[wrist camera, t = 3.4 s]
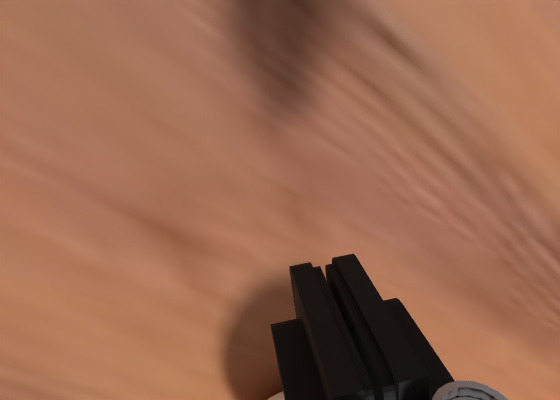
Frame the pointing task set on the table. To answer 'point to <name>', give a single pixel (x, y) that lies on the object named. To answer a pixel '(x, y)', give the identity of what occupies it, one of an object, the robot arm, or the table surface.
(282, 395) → the ivory ball
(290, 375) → the robot arm
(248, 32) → the table surface
